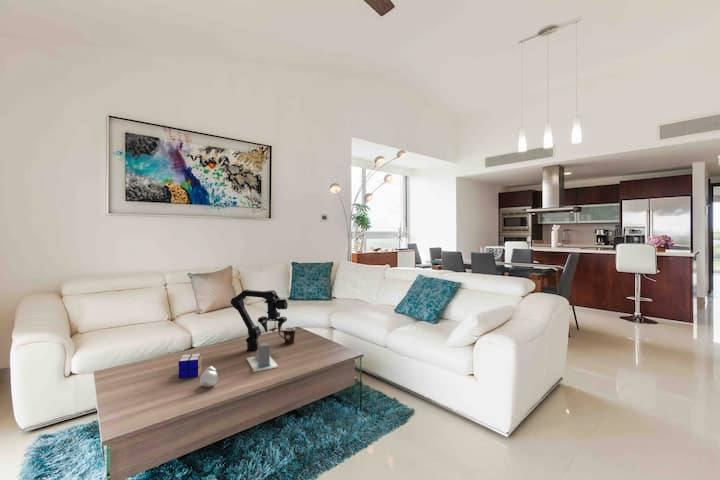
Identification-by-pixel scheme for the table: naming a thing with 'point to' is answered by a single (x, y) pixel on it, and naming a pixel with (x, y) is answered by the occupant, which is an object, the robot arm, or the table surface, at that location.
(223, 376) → the table surface
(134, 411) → the table surface
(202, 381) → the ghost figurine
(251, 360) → the baseplate
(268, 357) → the pillar
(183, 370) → the puzzle cube
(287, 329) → the coffee mug
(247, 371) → the table surface
